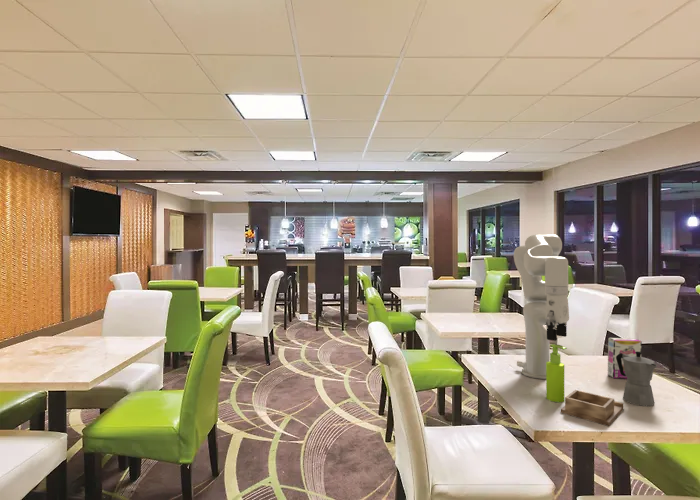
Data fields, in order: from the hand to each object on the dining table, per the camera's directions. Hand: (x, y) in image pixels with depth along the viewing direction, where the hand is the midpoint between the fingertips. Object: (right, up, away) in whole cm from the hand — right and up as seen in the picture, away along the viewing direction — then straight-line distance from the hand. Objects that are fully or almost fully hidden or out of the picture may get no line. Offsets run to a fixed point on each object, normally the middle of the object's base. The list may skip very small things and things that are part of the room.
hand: (556, 338), depth 143 cm
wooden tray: (+7, -23, -10) cm, 26 cm away
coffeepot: (+29, -23, 0) cm, 36 cm away
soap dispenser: (0, -23, +1) cm, 23 cm away
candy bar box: (+42, -23, +25) cm, 54 cm away
